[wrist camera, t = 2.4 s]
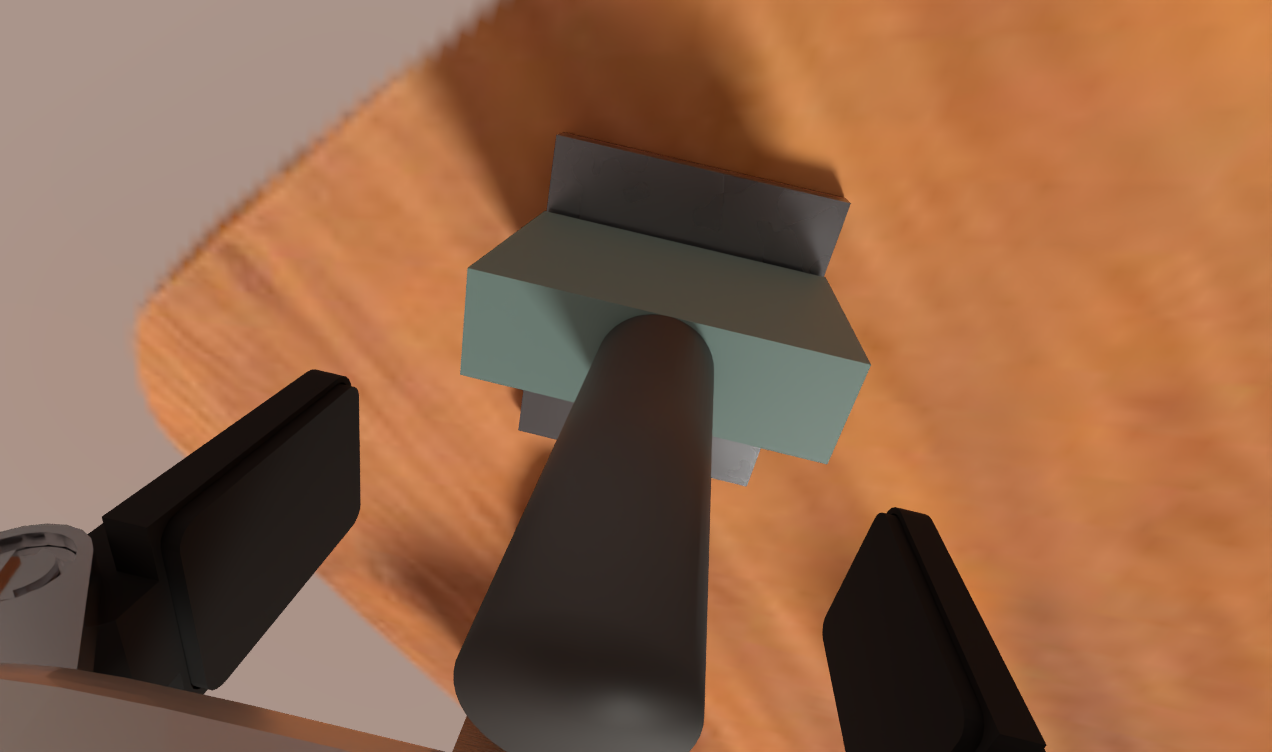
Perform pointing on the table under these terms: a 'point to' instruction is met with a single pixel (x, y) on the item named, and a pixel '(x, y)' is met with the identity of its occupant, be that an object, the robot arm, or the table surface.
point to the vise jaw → (632, 467)
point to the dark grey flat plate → (687, 234)
